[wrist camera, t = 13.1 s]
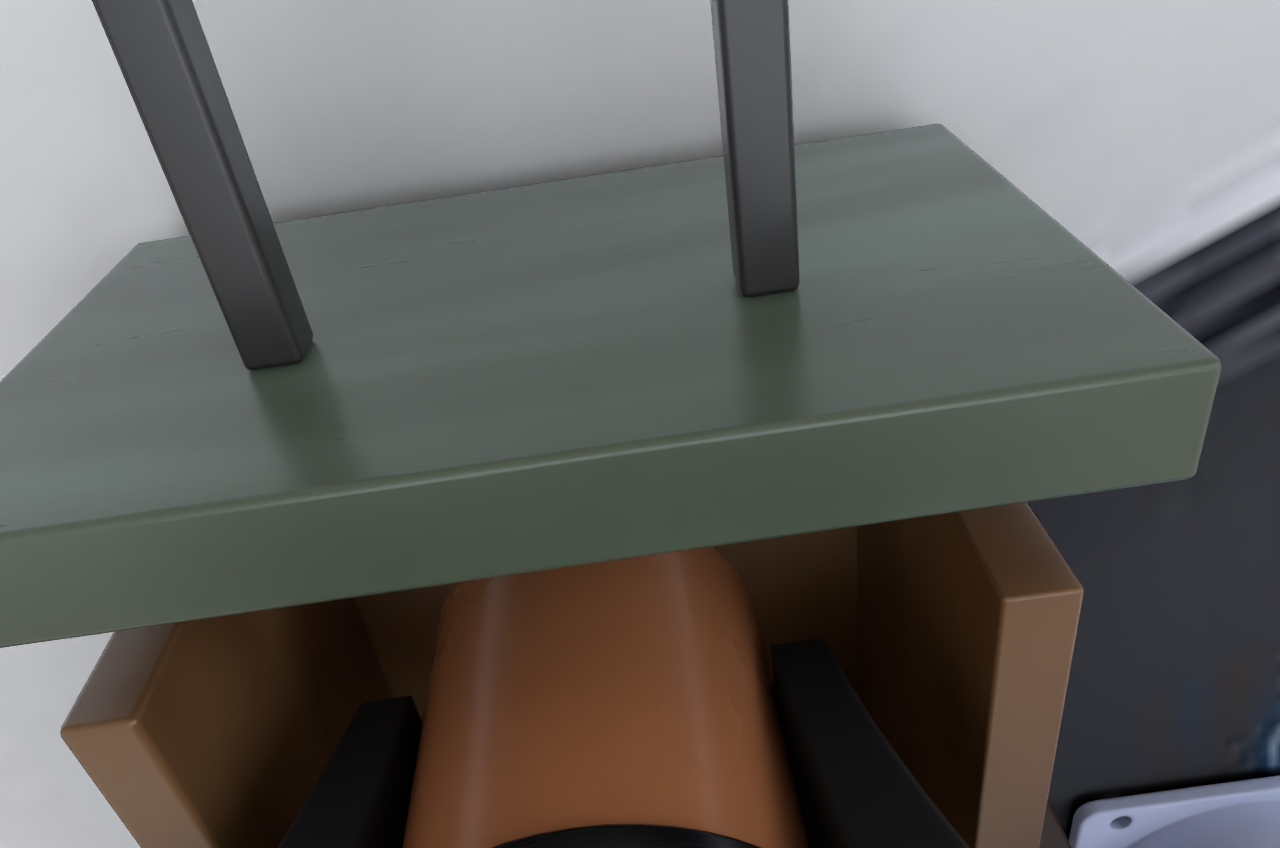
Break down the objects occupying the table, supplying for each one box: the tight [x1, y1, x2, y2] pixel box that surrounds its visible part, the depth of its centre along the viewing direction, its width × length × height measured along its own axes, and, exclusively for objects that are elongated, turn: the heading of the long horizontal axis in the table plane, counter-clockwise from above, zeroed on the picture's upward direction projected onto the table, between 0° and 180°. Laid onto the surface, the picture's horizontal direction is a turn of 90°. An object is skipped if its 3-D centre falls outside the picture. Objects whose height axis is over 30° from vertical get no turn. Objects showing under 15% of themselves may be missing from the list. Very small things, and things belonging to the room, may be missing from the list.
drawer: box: [0, 0, 1221, 848], centre depth 12 cm, size 17×11×7 cm, turn 7°
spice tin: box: [402, 547, 811, 848], centre depth 11 cm, size 5×5×5 cm
